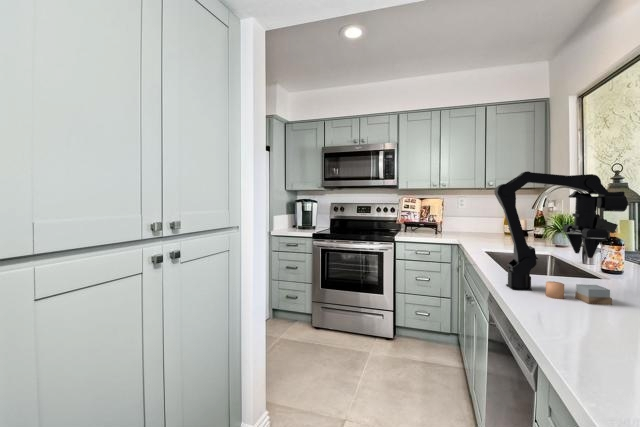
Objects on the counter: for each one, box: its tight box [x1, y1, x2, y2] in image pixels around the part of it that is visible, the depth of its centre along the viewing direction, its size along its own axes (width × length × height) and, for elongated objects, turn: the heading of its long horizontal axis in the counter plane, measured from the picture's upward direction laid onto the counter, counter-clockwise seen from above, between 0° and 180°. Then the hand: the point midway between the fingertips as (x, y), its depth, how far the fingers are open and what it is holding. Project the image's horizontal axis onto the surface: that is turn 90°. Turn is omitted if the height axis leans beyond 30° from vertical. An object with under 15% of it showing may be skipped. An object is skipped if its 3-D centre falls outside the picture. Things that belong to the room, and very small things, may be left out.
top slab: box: [575, 283, 611, 298], centre depth 103 cm, size 6×6×2 cm
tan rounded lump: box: [545, 281, 565, 300], centre depth 108 cm, size 5×5×4 cm
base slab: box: [574, 291, 613, 306], centre depth 103 cm, size 6×6×2 cm
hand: (583, 255), depth 112 cm, fingers open, 9 cm apart
